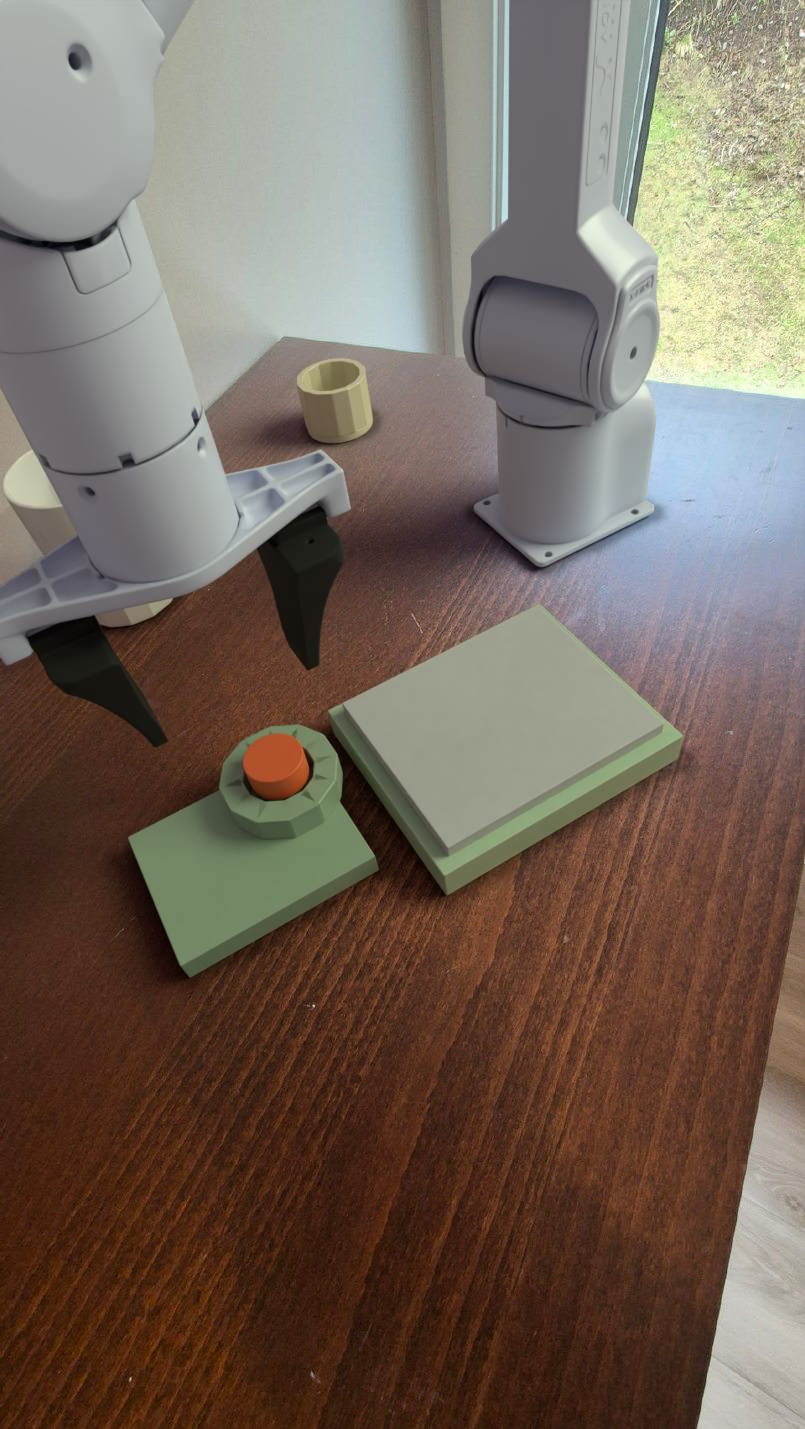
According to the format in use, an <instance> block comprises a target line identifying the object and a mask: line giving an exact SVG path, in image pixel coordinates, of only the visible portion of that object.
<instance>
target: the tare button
mask: <svg viewBox="0 0 805 1429" xmlns="http://www.w3.org/2000/svg"><path fill="white" fill-rule="evenodd" d="M243 768H244V771H245V773H246V775H247V778H248V780H249V782H250V784H251V786H252V789H253V790H254V791H255V793H256V794H258V795H259V796H261V797H263V798H265V799H269V800H280V799H285V798H288V797H290V796H292V795H294V794H296V793H297V792H298V791H299V790H301V789H302V787H303V786H304V785H305V783H306V782H307V779H308V776H309V765H308V762H307V760H306V757H305V754H304V751H303V748H302V746H301V744H300V742H299V741H298V740H297V739H295V738H294V737H292V736H290V735H287V734H283V733H274V734H269V735H266V736H263V737H261V738H259V739H257V740H256V741H255V742H253V743H252V744H251V745H250V746H249V747H248V749H247V750H246V752H245V754H244V757H243Z"/></svg>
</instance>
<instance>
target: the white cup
mask: <svg viewBox="0 0 805 1429" xmlns="http://www.w3.org/2000/svg"><path fill="white" fill-rule="evenodd" d="M1 490H2V494H3V495H4V497H5V499H6V501H7V502H8V503H9V505H10V506H11V509H13V511H14V513H15V514H16V516H17V517H18V519H19V520H20V522H21V524H22V525H23V526H24V528H25V530H26V531H27V533H28V534H29V536H30V538H31V539H32V540H33V542H34V544H35V545H36V546H37V549H38V550H39V551H40V553H41V554H42V556H43V557H44V556H45V555H47V554H48V553H50V552H51V551H53V550H54V549H56V548H57V547H59V546H60V545H61V544H63V543H64V542H66V541H67V540H69V539H70V538H72V537H73V536H75V535H76V534H77V533H76V531H75V529H74V527H73V525H72V523H71V521H70V519H69V517H68V515H67V514H66V512H65V510H64V508H63V506H62V504H61V502H60V500H59V498H58V496H57V494H56V492H55V491H54V489H53V487H52V485H51V483H50V481H49V479H48V477H47V476H46V474H45V472H44V470H43V468H42V466H41V464H40V462H39V460H38V458H37V456H36V455H35V453H34V451H33V449H32V448H31V449H29V450H27V451H26V452H24V453H23V454H22V455H20V456H18V458H17V459H15V461H14V462H13V463H12V464H11V465H10V466H9V468H8V469H7V470H6V472H5V473H4V475H3V478H2V482H1ZM173 600H174V598H171V599H167V600H162V601H158V602H153V603H148V604H144V605H139V606H134V607H130V608H125V609H121V610H116V611H111V612H107V613H102V614H97V615H95V616H96V618H97V620H98V622H99V624H100V625H101V626H104V627H108V628H118V627H119V628H120V627H127V626H129V627H130V626H134V625H136V624H140V623H142V622H144V621H146V620H149V619H151V618H154V617H155V616H157V615H158V614H159V613H160V612H162V611H163V610H164V609H165V608H166V607H167V606H169V605H171V603H172V601H173Z"/></svg>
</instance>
